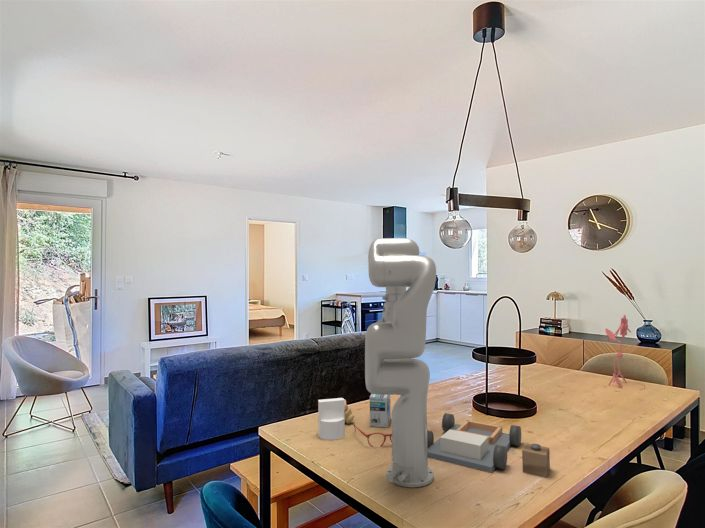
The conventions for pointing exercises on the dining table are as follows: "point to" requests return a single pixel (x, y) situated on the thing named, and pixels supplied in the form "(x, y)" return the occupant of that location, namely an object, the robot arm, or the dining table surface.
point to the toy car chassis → (473, 444)
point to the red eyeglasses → (374, 433)
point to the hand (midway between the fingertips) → (396, 345)
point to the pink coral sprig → (623, 332)
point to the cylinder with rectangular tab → (331, 418)
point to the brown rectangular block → (536, 460)
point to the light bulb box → (380, 410)
